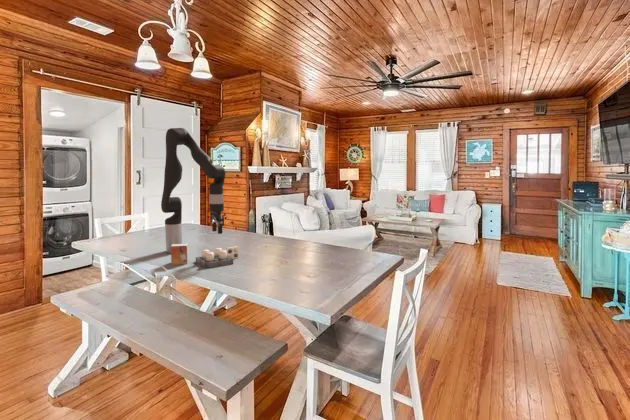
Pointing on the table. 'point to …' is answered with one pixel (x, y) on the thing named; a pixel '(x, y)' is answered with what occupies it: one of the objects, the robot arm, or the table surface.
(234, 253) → the card
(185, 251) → the small box
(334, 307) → the table surface
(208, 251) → the button
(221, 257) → the button
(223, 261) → the board
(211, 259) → the button
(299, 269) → the table surface
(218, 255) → the button
